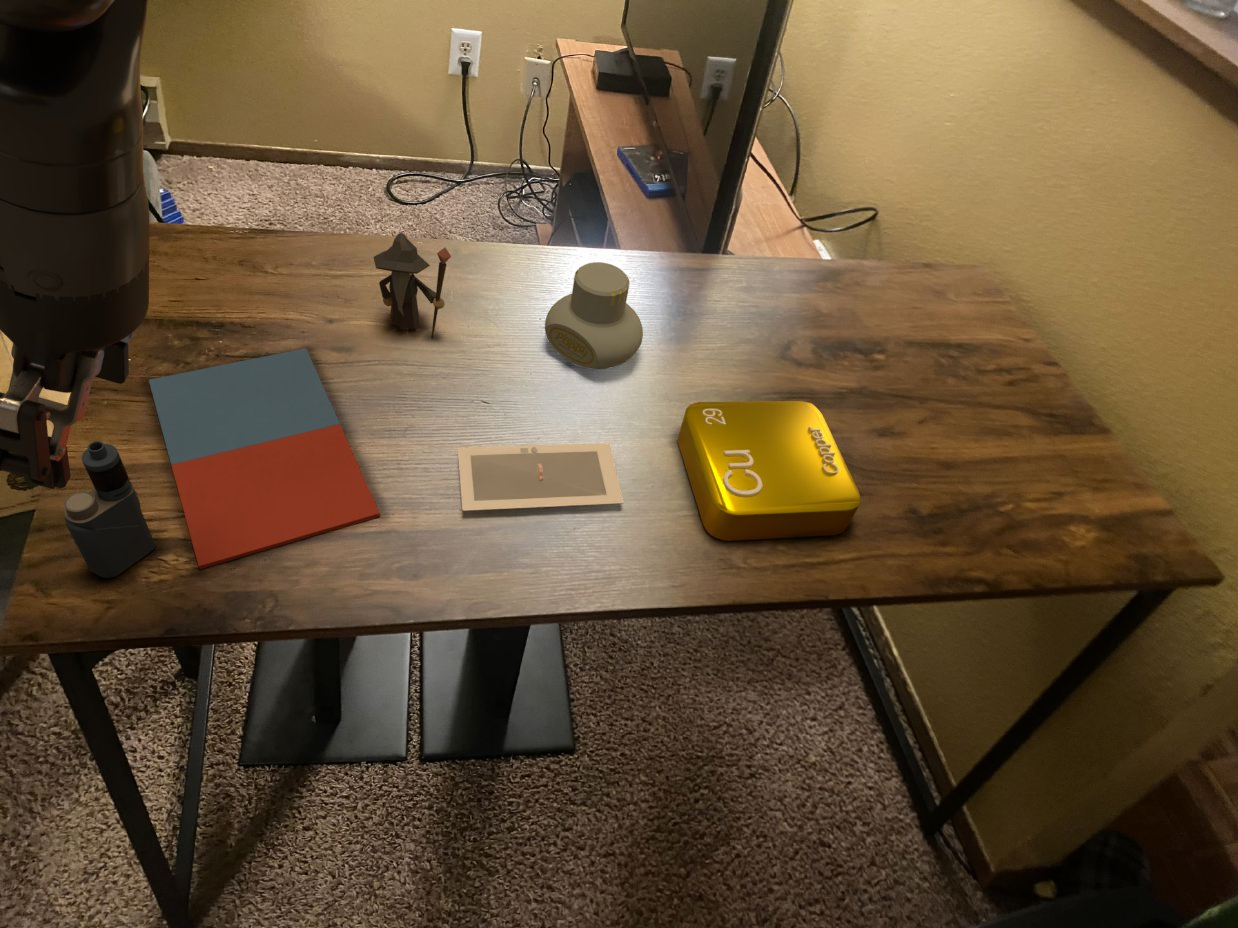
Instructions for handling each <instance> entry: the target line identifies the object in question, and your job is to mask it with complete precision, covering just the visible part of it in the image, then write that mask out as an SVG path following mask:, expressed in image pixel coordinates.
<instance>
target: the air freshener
mask: <svg viewBox="0 0 1238 928" xmlns="http://www.w3.org/2000/svg"><path fill="white" fill-rule="evenodd" d="M574 272H575V273H574V277H573V284H572V290H571V293H569V294H567V295H565V296H563V297H561V298H560V299H558V300H557V301H556V302H555V303H554V304H553V305H552V306H551V307H550V309H549V310H548V312H547V314H546V317H545V319H544V320H545V321H544V333H545V336H546V339H547V341H548V343H549V344H550V346H551V347H552V348H553V350H554V351H555V352H556V353H557V354H558V355H560V356H561V357H562V358H563V359H564V360H566V361H568V362H569V363H571V364H573V365H575V366H577V367H579V368H580V367H581V368H585V369H590V370H607V369H612V368H615V367H619V366H621V365H623V364H624V363H626V362H628V361H629V360H630V359H631V358H633V357H634V356H635V355H636V354H637V352H638V351H639V349H640V348H641V345H642V342H643V337H644V331H643V330H644V329H643V325H642V322H641V319H640V317H639V315H638V313H637V312H636V311H635V310H634V308H632V307H631V306H630V304H628V303H627V299H628V294H629V289H630V279H629V276H628V275H627V274H626V273H625V272H624V270H622V269H621V268H619V267H618V266H616V265H614V264H612V263H608V262H600V261H593V262H589V263H585V264H583V265H582V266H580V267H579V268H578V269H577V270H575V271H574Z"/></svg>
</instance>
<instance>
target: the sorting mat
mask: <svg viewBox="0 0 1238 928" xmlns="http://www.w3.org/2000/svg"><path fill="white" fill-rule="evenodd" d="M148 383H149V388H150V391H151V395H152V398H153V403H154V406H155V410H156V414H157V417H158V421H159V425H160V429H161V433H162V436H163V438H164V439H163V440H164V444H165V447H166V450H167V451H166V452H167V454H168V455H167V456H168V459H169V462H170V466H171V469H172V474H173V477H174V481H175V484H176V488H177V492H178V495H179V499H180V503H181V508H182V511H183V514H184V518H185V521H186V526H187V529H188V534H189V536H190V540H191V544H192V548H193V552H194V555H195V556H194V557H195V560H196V563H197V567H198V569H199V570H203V569H206V568H209V567H213V566H217V565H220V564H223V563H226V562H230V561H234V560H237V559H240V558H243V557H247V556H250V555H251V556H252V555H254V554H258V553H261V552H264V551H268V550H271V549H274V548H278V547H281V546H284V545H288V544H291V543H294V542H297V541H302V540H304V539H309V538H311V537H312V538H313V537H314V536H319V535H321V534H325V533H329V532H332V531H335V530H339V529H342V528H345V527H349V526H352V525H355V524H359V523H362V522H366V521H369V520H373V519H376V518H379V517H381V514H380V510H379V508H378V506H377V504H376V501H375V500H374V497H373V495H372V492H371V490H370V488H369V485H368V484H367V482H366V481H367V480H366V479H365V477H364V474H363V472H362V470H361V467H360V465H359V463H358V460H357V459H356V456H355V454H354V452H353V449H352V448H351V445H350V443H349V440H348V439H347V436H346V434H345V432H344V429H343V427H342V425H341V422H340V421H339V418H338V416H337V414H336V412H335V410H334V407H333V404H332V402H331V401H330V397H329V396H328V393H327V392H326V391H327V390H326V389H325V387H324V384H323V383H322V380H321V377H320V375H319V373H318V371H317V369H316V366H315V365H314V362H313V359H312V357H311V355H310V352H309V351H308V349H307V348H306V347H305V348H300V349H295V350H290V351H284V352H280V353H274V354H270V355H265V356H260V357H256V358H255V357H254V358H250V359H245V360H240V361H234V362H230V363H225V364H219V365H216V366H211V367H205V368H200V369H196V370H191V371H185V372H180V373H174V374H170V375H165V376H160V377H155V378H150V379H148Z"/></svg>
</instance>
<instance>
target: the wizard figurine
mask: <svg viewBox="0 0 1238 928" xmlns="http://www.w3.org/2000/svg"><path fill="white" fill-rule="evenodd" d="M436 254H437V257H438V259H439V262H438V270H437V279H436V280H437V281H436V290H433V289H431V288H429V286H427V285H426V284H425V283H424V282H422V281H421V280H420V279H419V278H418V277H417V276H415V275H417V274H419V273H421V272H422V271H424V270H427V269H428V268H429V267H430V266H431V264H430V263H428V262H427V260H425V259H424V258H423V257H421V256H420V254H418V248H417V246H415V245H414V244H413V243H412V242H411V240H410V239H408V237H407V235H405V233H404V232H400V233H398V234H397V235H396V236H395V238H394V239H393V242H392V245H391V246H390V247H389V248H388V249H387V250H384V251H382V252H380V253H377V254H376V255H375V256H373V262H374V265H375V269H378V270H383V271H388V272H391V273H390V275H388V276H386V277H385V278H382V279H381V280H380V281H379V282H378V284H379V288H380V294H381V297H382V303H383V305H384V306H386V307H390V314H389V319H390V322H391V327H390V328H391V330H392V331H395V332H397V333H398V332H400V330H407V333H408V334H411V333H412V334H413V333H417V330H418V329H417V328H418V327H419V326H420V325H421V320H420V313H419V305H418V298H417V295H418V289H419V290H420V291H421V293H422V294H423V295H424V296H425V298H426V299H427V301H428V302H429V303H430V304H432V305H433V307H434V311H433V318H432V327H431V336H430V338H431V339H434V336H435V335H434V334H435V328H436V324H437V317H438V311H439V310H441V309H443V308H444V307H445V305H446V304H445V300H444V299H443V298H442V297H441V295H442V291H443V290H442V289H443V284H444V281H445V275H446V269H447V262H448V261H449V260H450V259H451V258H452V255H451V254H450V252H449V251H448V249H447V247H443V248H442V249H440V250H439V251H438V252H437V253H436ZM387 285H389V286H388V287H387Z"/></svg>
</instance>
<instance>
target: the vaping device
mask: <svg viewBox="0 0 1238 928" xmlns="http://www.w3.org/2000/svg"><path fill="white" fill-rule="evenodd" d="M81 462H82V464H83V466H84V468H85V470H86V472H87V475H88V477H89V479H90V481H91V484H92V485H93V488H94V489H92V490H90V491H85V490H80V491H76V492H73V493H71V494H70V495H69V496H67V497H66V498H65V499H64V501H63V506H64V522H65V525H66V528H67V530H68V532H69V533H70V535H71V537H72V539H73V541H74V543H75V545H76V547H77V548H78V550H79V553H80V554H81V556H82V558H83V560H84V562H85V563H86V566H87V568H88V569H89V570H90V571H91V572H92V573H93V574H95V575H97V576H98V577H101V578H105V579H110V578H115V577H117V576H119V575H120V574H122V573H123V572H125V571H126V570H128V569H129V568H130V567H131V566H133V565H135V564H136V563H137V562H139V561H140V560H141V559H143V558H144V557H145V556H147V555H149V553H151V552H152V551H153V550H155V548H156V546H157V544H156V543H155V540H154V538H153V535H152V533H151V531H150V528H149V526H148V523H147V521H146V519H145V516H144V514H143V511H142V509H141V502H140V499H139V497H138V492H137V491H136V490H135V487H134V484H133V483H132V481H131V480H130V477H129V475H128V473H127V470H126V468H125V465H124V462H123V460H122V457H121V456H120V453H119V451H118V449H117V447H115V446H114V445H113V444H109V443H104V442H103V441H100V440H95V441H92V442H90V443H89V444H88V445H87V448H86V450H84V452H83V453H82V455H81Z"/></svg>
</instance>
